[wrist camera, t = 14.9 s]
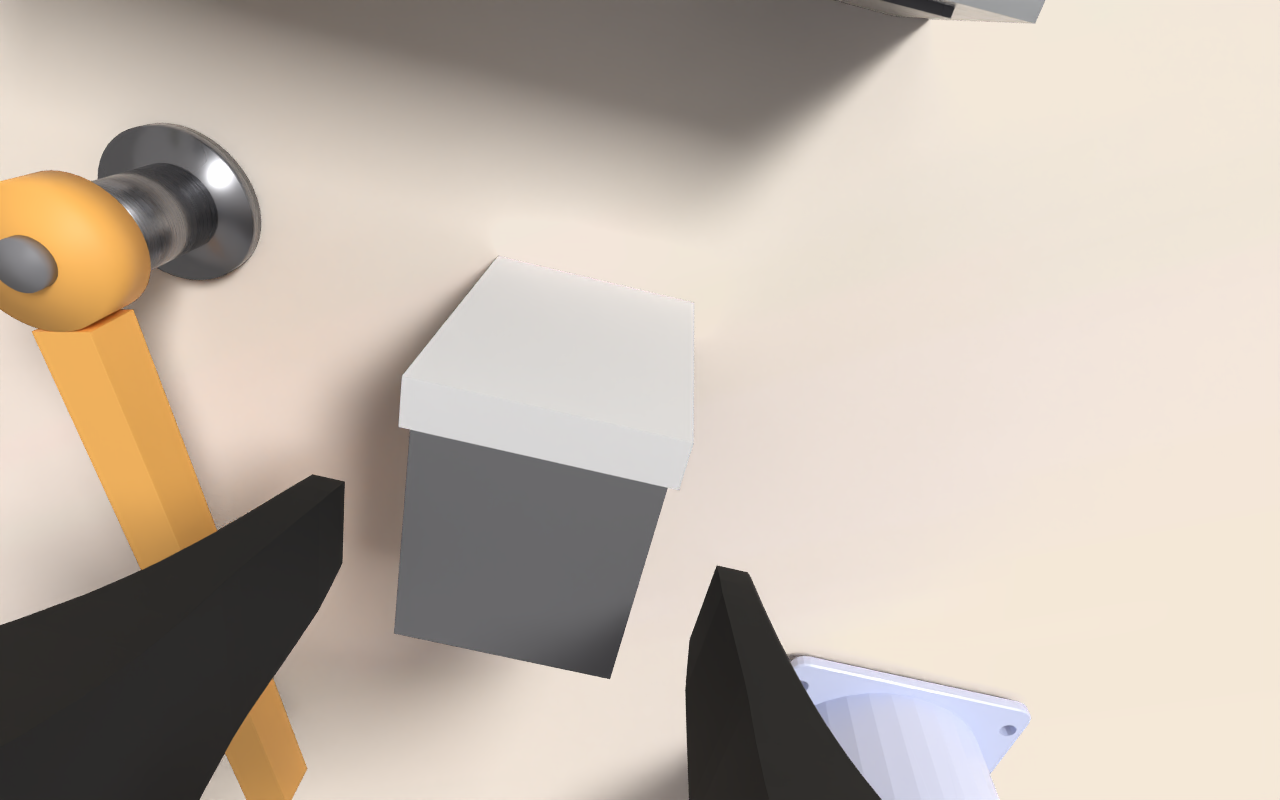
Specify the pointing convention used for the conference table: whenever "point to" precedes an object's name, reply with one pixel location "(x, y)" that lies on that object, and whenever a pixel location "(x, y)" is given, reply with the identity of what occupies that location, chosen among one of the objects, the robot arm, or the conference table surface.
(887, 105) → the conference table surface
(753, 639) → the robot arm
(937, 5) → the socket
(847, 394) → the conference table surface
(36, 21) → the conference table surface
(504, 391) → the plug
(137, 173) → the lever handle base
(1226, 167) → the conference table surface
